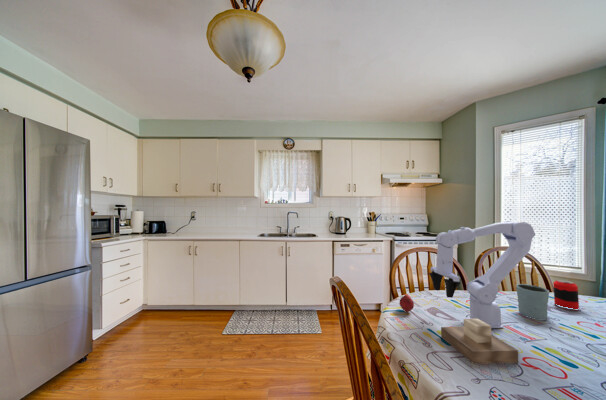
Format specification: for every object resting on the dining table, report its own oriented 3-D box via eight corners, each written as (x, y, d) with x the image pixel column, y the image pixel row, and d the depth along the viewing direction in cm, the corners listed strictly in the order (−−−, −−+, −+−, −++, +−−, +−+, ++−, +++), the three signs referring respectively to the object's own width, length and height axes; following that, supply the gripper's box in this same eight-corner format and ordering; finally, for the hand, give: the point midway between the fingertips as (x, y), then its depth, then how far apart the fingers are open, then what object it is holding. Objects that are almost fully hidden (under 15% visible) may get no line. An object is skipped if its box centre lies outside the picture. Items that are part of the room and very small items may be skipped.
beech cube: (477, 333, 75) (477, 318, 75) (491, 342, 70) (491, 326, 70) (464, 334, 75) (463, 319, 75) (476, 342, 70) (476, 326, 70)
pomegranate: (415, 315, 95) (415, 296, 96) (401, 314, 97) (401, 295, 97) (411, 310, 101) (411, 292, 102) (398, 308, 102) (398, 291, 103)
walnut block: (478, 337, 80) (478, 326, 80) (518, 364, 66) (518, 350, 66) (441, 338, 79) (441, 327, 79) (473, 365, 65) (473, 351, 65)
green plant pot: (523, 309, 103) (522, 282, 104) (555, 318, 94) (553, 289, 95) (512, 313, 99) (511, 285, 100) (544, 323, 90) (543, 293, 91)
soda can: (558, 308, 105) (557, 282, 105) (551, 302, 111) (550, 278, 112) (582, 312, 101) (581, 285, 101) (574, 306, 107) (572, 280, 108)
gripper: (424, 256, 101) (423, 286, 100) (448, 264, 86) (446, 300, 86) (439, 257, 101) (438, 287, 101) (465, 265, 87) (463, 300, 86)
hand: (443, 293), depth 93 cm, fingers open, 7 cm apart
